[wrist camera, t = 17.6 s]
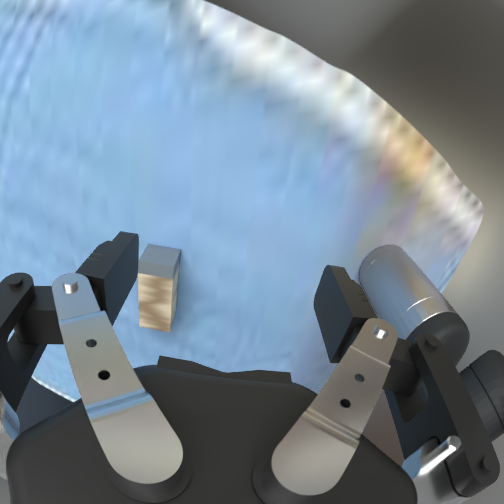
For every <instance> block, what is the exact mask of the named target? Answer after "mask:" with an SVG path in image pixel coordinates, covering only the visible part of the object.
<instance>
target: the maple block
mask: <svg viewBox="0 0 504 504" xmlns="http://www.w3.org/2000/svg"><path fill="white" fill-rule="evenodd" d="M180 252H181V250H180V249H174V248H168V247H162V246H156V245H151V244H148V246H147V247H146V249H145V251H144V252H143V254H142V255H141V257H140V259H139V260H138V293H139V324H140V326H141V327H145V328H150V329H155V330H160V331H166V332H170V331H171V327H172V324H173V320H174V317H175V313H176V300H177V287H178V274H179V263H180Z"/></svg>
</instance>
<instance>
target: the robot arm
mask: <svg viewBox="0 0 504 504" xmlns="http://www.w3.org/2000/svg"><path fill="white" fill-rule="evenodd" d="M138 253H139V237H138V234H135V233H128V232H122V231H121V232H119V234H118V235H117V236H116V237H115V238H114V240H113V241H106V242H104V243H102V244H100V245H98V247H97V248H96V249H95V250H94V251H93V253H92V254H91V255H90V256H89V258H87V259H86V261H85V262H84V263H83V264H82V265H81V266H80V268H79V269H78V270H77V271H76V273H68V274H64V275H61V276H59V277H58V278H56V279H55V280H54V282H53V283H52V286H34V283H33V279H32V277H31V276H30V275H29V274H26V273H14V274H11V275H9V276H7V277H6V278H4V279H3V280H2V281H1V283H0V477H2V478H4V479H6V480H8V485H9V492H10V502H11V504H460V503H462V502H464V501H465V500H467V499H469V498H471V497H472V496H474V495H476V494H477V493H479V492H480V491H482V490H483V489H485V488H486V487H488V486H489V485H491V484H492V483H494V482H495V481H496V480H497V478H498V476H499V473H500V465H499V461H498V458H497V456H496V453H495V451H494V448H493V445H492V443H491V442H492V441H494V440H495V439H496V438H498V437H499V436H500V435H502V434H503V433H504V356H503V355H502V354H501V353H500V352H498V351H496V350H490V351H487V352H486V353H484V354H483V355H481V356H480V357H479V358H477V359H476V360H475V361H474V362H473V363H471V364H470V365H469V367H466V368H465V369H464V370H463V371H461V372H460V373H458V371H457V369H456V365H457V364H458V362H459V361H460V359H461V358H462V356H463V354H464V353H465V351H466V348H467V346H468V343H469V330H468V327H467V326H466V324H465V322H464V321H463V320H462V319H461V317H460V316H459V315H458V314H457V312H456V311H455V310H454V309H453V307H452V306H451V305H450V304H449V302H448V301H447V300H446V299H445V298H444V296H443V295H442V294H441V293H440V292H439V290H438V289H437V288H436V287H435V286H434V284H433V283H432V282H431V281H430V280H429V278H428V277H427V276H426V275H425V274H424V273H423V271H422V270H421V269H420V268H419V267H418V266H417V265H416V264H415V262H414V261H413V260H412V259H411V258H410V257H409V256H408V255H407V253H406V252H405V251H404V250H403V249H401V248H400V247H398V246H394V245H386V246H382V247H380V248H378V249H376V250H374V251H373V252H371V253H370V254H369V255H368V256H367V257H366V259H365V260H364V262H363V263H362V266H361V268H360V272H359V279H360V283H361V285H362V287H363V288H364V290H365V292H366V294H367V296H368V298H369V299H370V301H371V303H372V305H373V307H374V309H375V310H376V312H377V314H378V316H379V318H380V319H378V318H377V316H376V314H375V312H374V310H373V308H372V307H371V305H370V303H369V302H368V299H367V297H366V296H365V294H364V292H363V290H362V288H361V287H360V286H359V285H358V284H357V283H356V282H355V281H354V280H351V279H350V277H349V275H348V274H347V272H346V270H345V268H343V267H338V266H331V265H327V266H326V267H325V269H324V272H323V274H322V277H321V280H320V283H319V286H318V288H317V291H316V294H315V298H314V310H315V313H316V316H317V319H318V323H319V326H320V329H321V333H322V336H323V340H324V343H325V347H326V350H327V353H328V357H329V360H330V363H339V364H338V366H337V367H336V369H335V370H334V372H333V373H332V375H331V376H330V378H329V379H328V381H327V382H326V383H325V385H324V386H323V388H322V389H321V391H320V392H319V393H318V394H316V393H315V392H313V391H312V390H310V389H308V388H306V387H304V386H302V385H299V384H296V383H293V382H292V381H291V374H290V372H277V371H265V370H254V371H243V372H231V373H225V372H221V371H218V370H215V369H212V368H209V367H206V366H203V365H201V364H198V363H195V362H192V361H187V360H181V359H175V358H170V357H164V356H159V360H158V364H157V365H148V366H142V367H137V368H134V369H133V368H132V366H131V364H130V362H129V360H128V358H127V356H126V354H125V352H124V350H123V348H122V346H121V344H120V342H119V340H118V338H117V336H116V334H115V332H114V330H113V327H112V326H113V324H114V322H115V320H116V318H117V316H118V314H119V312H120V310H121V308H122V306H123V304H124V302H125V300H126V298H127V296H128V294H129V292H130V290H131V289H132V287H133V285H134V283H135V281H136V278H137V274H138ZM13 328H14V331H15V332H14V334H13V335H12V337H11V338H10V340H9V342H8V343H7V341H8V337H9V334H10V333H11V331H12V330H13ZM47 344H64V345H65V349H66V352H67V356H68V359H69V363H70V366H71V369H72V372H73V375H74V378H75V381H76V384H77V387H78V390H79V393H80V396H81V398H80V399H79V400H77V401H75V402H74V403H72V404H70V405H69V406H67V407H65V408H63V409H62V410H60V411H58V412H56V413H55V414H53V415H51V416H49V417H48V418H46V419H44V420H43V421H41V422H39V423H37V424H35V425H34V426H32V427H30V428H28V429H27V430H25V431H23V432H22V433H20V434H19V435H18V432H19V420H18V417H17V415H16V413H15V412H16V410H17V407H18V405H19V403H20V400H21V398H22V396H23V393H24V391H25V389H26V387H27V385H28V382H29V380H30V378H31V376H32V374H33V372H34V370H35V368H36V366H37V364H38V362H39V360H40V358H41V356H42V354H43V352H44V350H45V348H46V346H47ZM381 389H384V391H385V394H386V397H387V400H388V403H389V407H390V410H391V413H392V416H393V420H394V423H395V427H396V430H397V434H398V437H399V441H400V444H401V448H402V452H403V455H404V459H405V461H404V463H403V466H402V468H401V467H400V466H399V465H398V464H397V463H395V462H394V461H393V460H392V459H391V458H389V457H388V456H387V455H386V454H385V453H383V452H382V451H381V450H380V449H379V448H377V447H376V446H375V445H374V444H373V443H371V442H370V441H369V440H368V439H367V438H366V437H365V436H364V435H362V434H361V433H362V431H363V429H364V427H365V425H366V423H367V421H368V419H369V417H370V415H371V412H372V410H373V408H374V406H375V403H376V401H377V399H378V397H379V394H380V392H381Z"/></svg>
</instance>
